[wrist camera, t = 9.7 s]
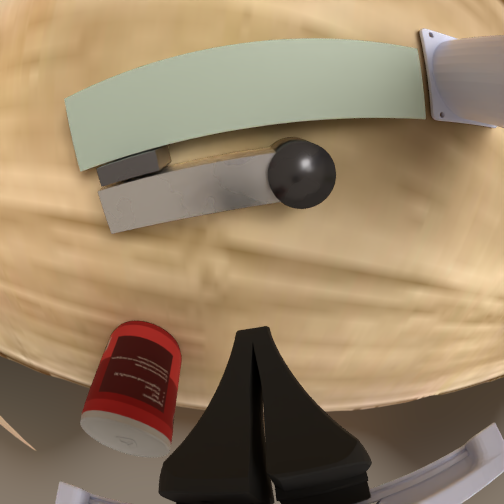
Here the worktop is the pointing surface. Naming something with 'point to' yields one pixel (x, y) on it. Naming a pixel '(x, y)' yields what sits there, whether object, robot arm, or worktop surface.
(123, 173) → the block
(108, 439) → the canned food
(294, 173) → the latch bar
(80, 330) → the worktop surface
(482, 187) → the worktop surface
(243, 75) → the pale green flat bar
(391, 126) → the worktop surface
